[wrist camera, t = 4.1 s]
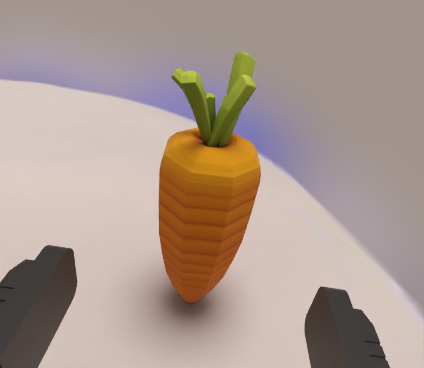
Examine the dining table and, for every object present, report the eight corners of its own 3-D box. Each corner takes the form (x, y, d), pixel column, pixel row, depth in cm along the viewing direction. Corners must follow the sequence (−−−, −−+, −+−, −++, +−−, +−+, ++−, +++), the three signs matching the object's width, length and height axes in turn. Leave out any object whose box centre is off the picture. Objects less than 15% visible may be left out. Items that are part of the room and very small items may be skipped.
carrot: (161, 346, 18) (187, 69, 10) (143, 278, 22) (151, 37, 14) (241, 324, 20) (315, 75, 12) (211, 264, 24) (253, 45, 16)
